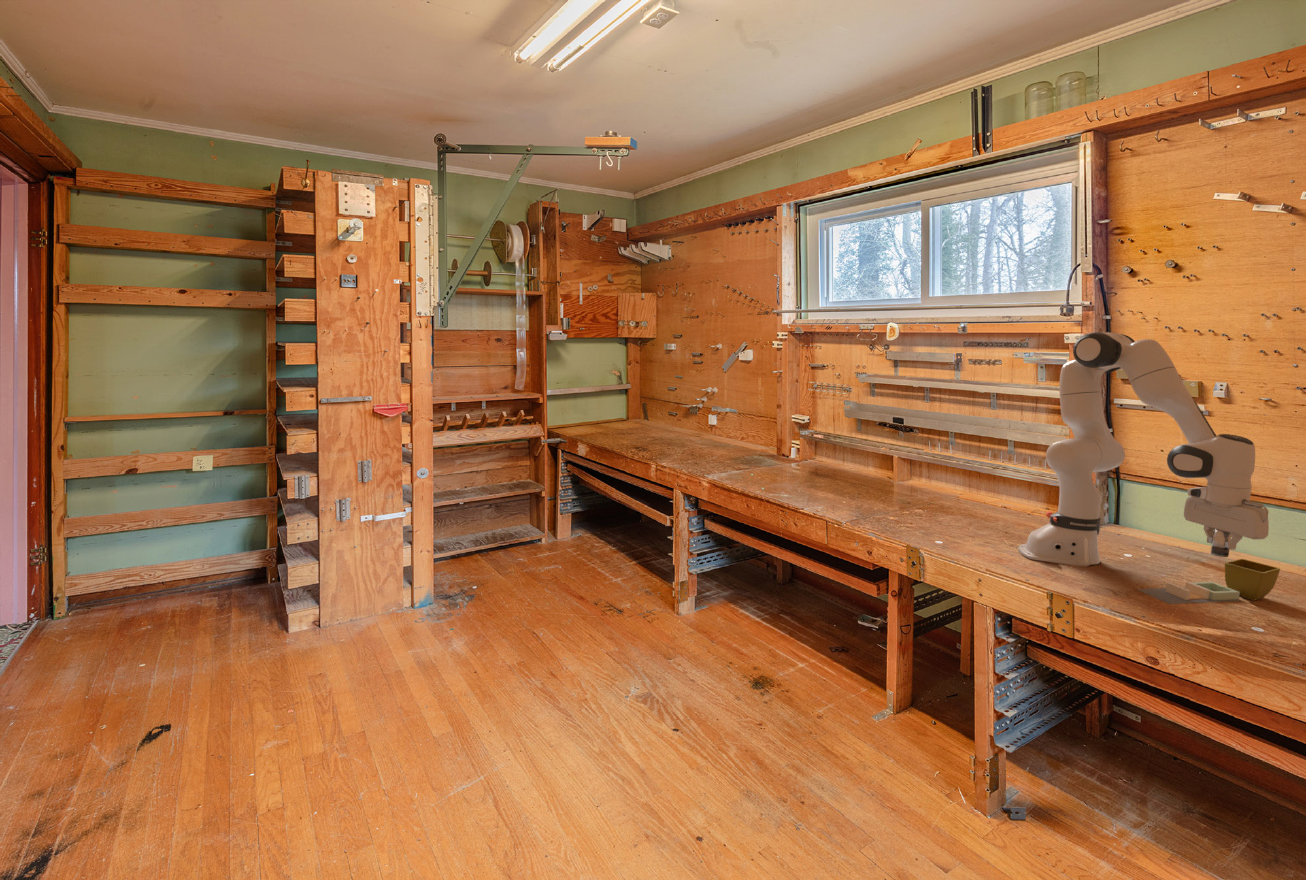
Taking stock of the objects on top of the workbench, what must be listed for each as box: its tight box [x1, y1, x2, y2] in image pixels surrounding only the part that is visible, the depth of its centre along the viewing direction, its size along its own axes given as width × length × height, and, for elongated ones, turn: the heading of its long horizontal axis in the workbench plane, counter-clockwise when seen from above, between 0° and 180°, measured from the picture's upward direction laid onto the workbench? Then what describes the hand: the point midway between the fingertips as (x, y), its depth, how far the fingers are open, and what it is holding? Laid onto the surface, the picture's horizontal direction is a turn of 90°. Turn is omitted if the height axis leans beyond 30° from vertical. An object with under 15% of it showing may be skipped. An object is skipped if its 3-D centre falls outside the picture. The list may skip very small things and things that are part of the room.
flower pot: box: [1224, 558, 1281, 601], centre depth 177 cm, size 9×9×9 cm
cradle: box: [1165, 581, 1210, 600], centre depth 175 cm, size 7×6×2 cm
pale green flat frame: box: [1190, 581, 1240, 600], centre depth 176 cm, size 8×8×2 cm
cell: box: [1210, 528, 1232, 558], centre depth 173 cm, size 4×4×8 cm
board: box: [1136, 587, 1243, 605], centre depth 175 cm, size 22×10×1 cm, turn 97°
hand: (1220, 546), depth 174 cm, fingers closed on cell, 4 cm apart
